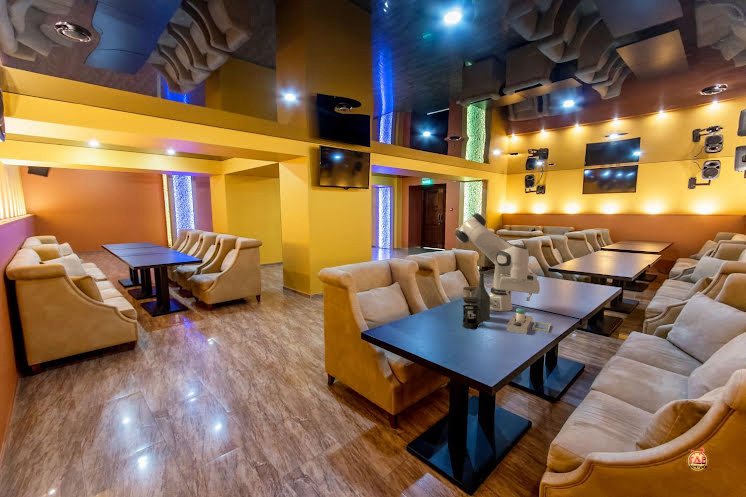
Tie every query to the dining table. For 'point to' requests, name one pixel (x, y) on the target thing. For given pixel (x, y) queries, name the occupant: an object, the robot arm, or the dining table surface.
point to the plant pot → (469, 293)
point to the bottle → (482, 300)
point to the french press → (470, 319)
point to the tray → (541, 324)
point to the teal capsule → (520, 315)
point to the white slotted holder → (523, 327)
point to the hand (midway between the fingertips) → (518, 299)
